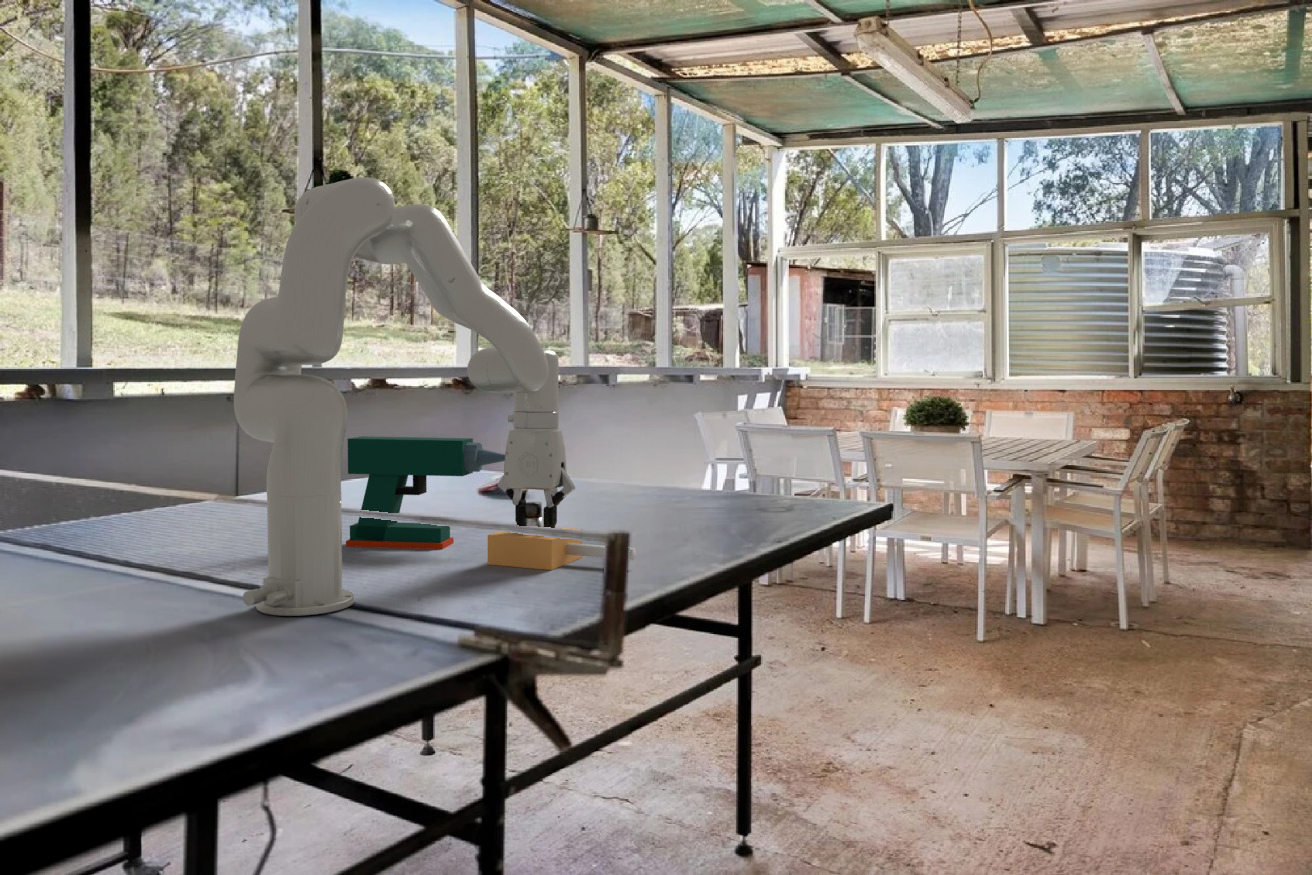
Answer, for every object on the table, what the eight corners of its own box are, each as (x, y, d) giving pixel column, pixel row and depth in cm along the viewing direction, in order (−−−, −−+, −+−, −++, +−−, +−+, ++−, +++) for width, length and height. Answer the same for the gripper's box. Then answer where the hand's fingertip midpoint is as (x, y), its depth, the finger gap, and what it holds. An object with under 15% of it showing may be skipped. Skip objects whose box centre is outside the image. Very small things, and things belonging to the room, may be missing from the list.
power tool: (524, 544, 181) (524, 439, 180) (515, 551, 174) (515, 441, 173) (361, 540, 184) (360, 436, 183) (345, 546, 177) (344, 438, 176)
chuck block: (619, 576, 153) (619, 545, 153) (487, 564, 162) (487, 534, 161) (646, 562, 164) (646, 533, 164) (521, 552, 173) (521, 524, 172)
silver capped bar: (539, 562, 163) (536, 504, 163) (523, 561, 164) (520, 503, 164) (547, 559, 166) (544, 501, 165) (531, 558, 167) (529, 501, 167)
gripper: (481, 421, 163) (481, 528, 164) (571, 424, 157) (571, 535, 158) (503, 420, 170) (503, 522, 171) (590, 422, 164) (589, 528, 165)
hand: (536, 527), depth 165 cm, fingers open, 4 cm apart
